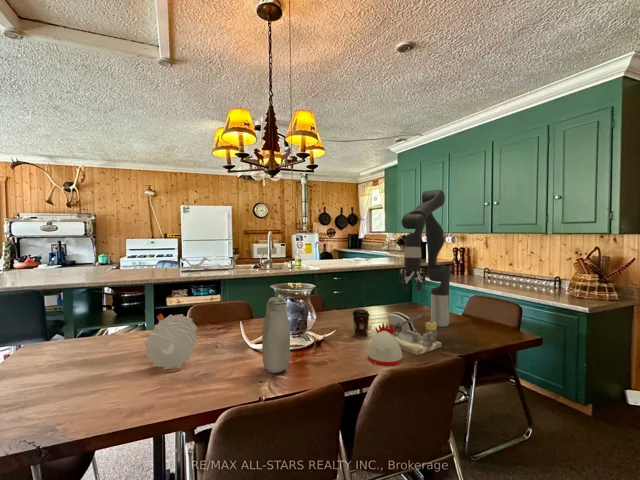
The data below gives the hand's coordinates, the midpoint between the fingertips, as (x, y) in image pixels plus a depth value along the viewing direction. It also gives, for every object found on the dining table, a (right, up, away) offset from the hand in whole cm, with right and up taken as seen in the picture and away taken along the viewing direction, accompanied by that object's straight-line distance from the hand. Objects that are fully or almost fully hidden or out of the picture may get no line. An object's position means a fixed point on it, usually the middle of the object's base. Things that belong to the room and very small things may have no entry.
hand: (412, 290), depth 152 cm
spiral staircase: (-103, -25, -21) cm, 108 cm away
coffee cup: (-23, -24, +9) cm, 35 cm away
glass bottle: (-60, -26, -31) cm, 72 cm away
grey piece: (0, -24, +22) cm, 33 cm away
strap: (-2, -15, -1) cm, 15 cm away
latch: (+8, -17, -4) cm, 19 cm away
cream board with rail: (-2, -25, -1) cm, 25 cm away
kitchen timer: (-17, -25, -19) cm, 36 cm away
